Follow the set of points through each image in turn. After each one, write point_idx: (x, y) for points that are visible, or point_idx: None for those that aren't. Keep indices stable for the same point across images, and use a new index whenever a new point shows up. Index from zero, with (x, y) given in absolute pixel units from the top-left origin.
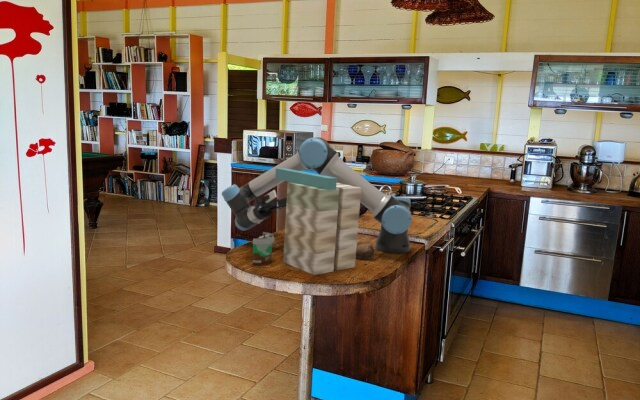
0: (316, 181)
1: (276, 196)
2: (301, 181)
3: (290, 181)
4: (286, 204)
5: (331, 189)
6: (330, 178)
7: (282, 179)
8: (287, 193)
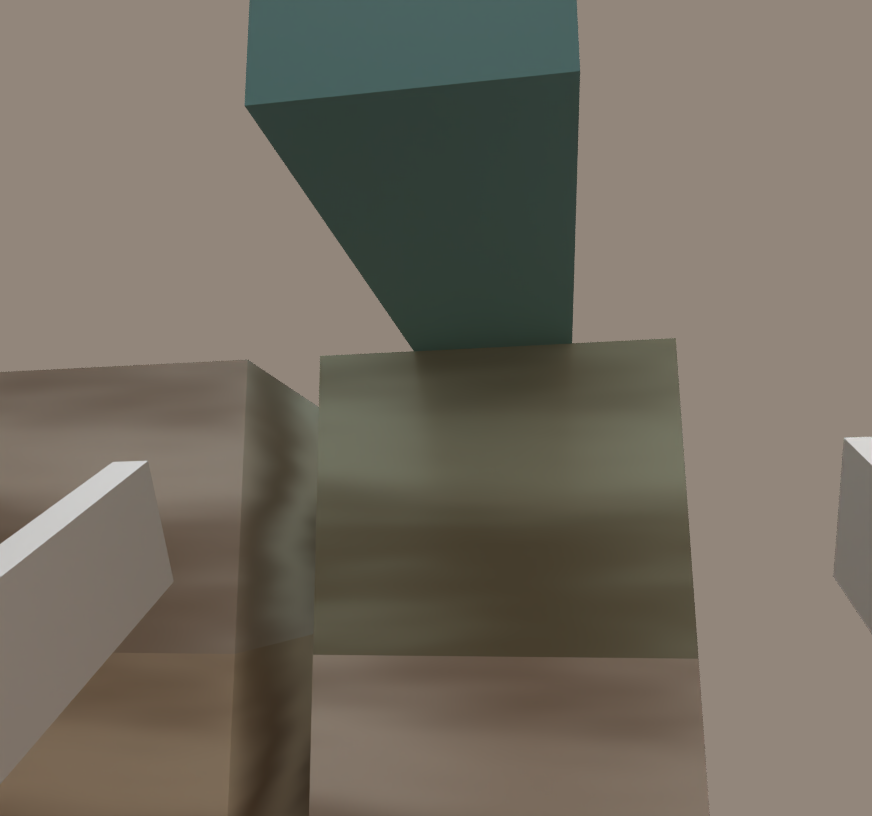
0: None
1: (839, 570)
2: None
3: (571, 318)
4: (699, 685)
5: None
6: None
7: (573, 222)
8: (684, 501)
